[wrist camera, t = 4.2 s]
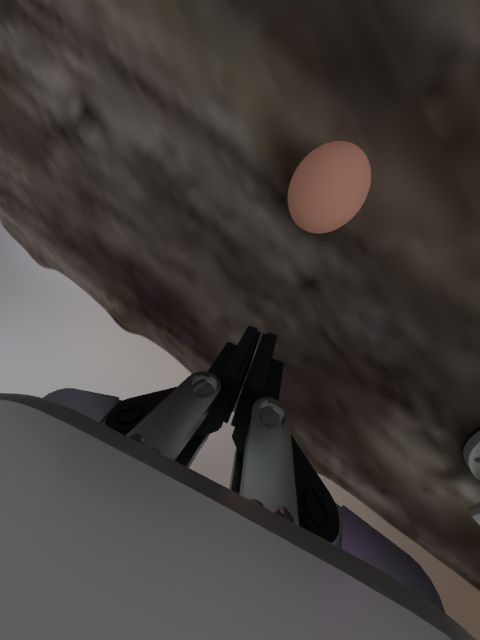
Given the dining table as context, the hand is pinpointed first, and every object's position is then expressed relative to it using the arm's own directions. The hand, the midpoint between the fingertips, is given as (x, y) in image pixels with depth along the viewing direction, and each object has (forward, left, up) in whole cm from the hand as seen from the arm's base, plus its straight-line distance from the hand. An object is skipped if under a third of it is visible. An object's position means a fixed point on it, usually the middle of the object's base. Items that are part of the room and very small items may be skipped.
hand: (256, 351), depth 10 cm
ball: (+9, -1, -9) cm, 13 cm away
